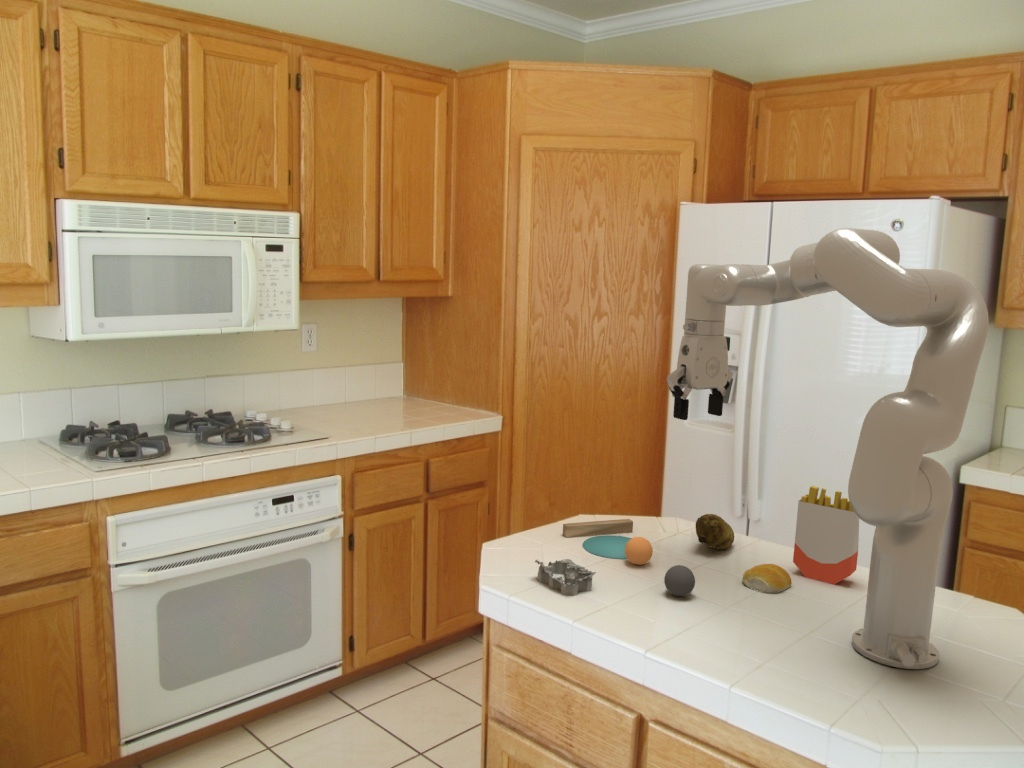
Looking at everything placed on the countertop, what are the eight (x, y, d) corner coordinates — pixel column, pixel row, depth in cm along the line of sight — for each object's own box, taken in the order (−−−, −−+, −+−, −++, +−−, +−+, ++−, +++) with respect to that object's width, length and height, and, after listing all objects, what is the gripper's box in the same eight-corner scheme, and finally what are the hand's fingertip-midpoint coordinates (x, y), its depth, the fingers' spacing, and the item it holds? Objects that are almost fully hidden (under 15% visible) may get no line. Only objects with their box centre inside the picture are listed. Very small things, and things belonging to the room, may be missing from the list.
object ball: (652, 570, 165) (654, 543, 164) (624, 568, 165) (626, 541, 165) (651, 560, 170) (652, 534, 169) (623, 558, 171) (625, 532, 170)
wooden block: (632, 532, 187) (633, 521, 187) (566, 537, 182) (566, 526, 182) (628, 529, 189) (629, 518, 189) (562, 534, 184) (563, 523, 184)
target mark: (651, 561, 170) (651, 560, 170) (581, 556, 171) (582, 555, 171) (647, 538, 183) (647, 537, 183) (583, 534, 185) (583, 533, 185)
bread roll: (797, 585, 160) (798, 565, 160) (775, 598, 154) (777, 577, 153) (757, 573, 166) (758, 554, 165) (734, 585, 159) (736, 564, 159)
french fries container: (799, 567, 169) (807, 480, 167) (855, 581, 163) (864, 491, 160) (791, 573, 166) (799, 485, 163) (848, 588, 159) (858, 496, 157)
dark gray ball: (695, 602, 150) (697, 572, 149) (664, 599, 150) (666, 570, 150) (692, 590, 155) (694, 561, 155) (662, 588, 156) (664, 559, 155)
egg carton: (531, 579, 159) (532, 559, 158) (563, 572, 163) (564, 552, 162) (565, 599, 150) (566, 577, 149) (598, 591, 154) (599, 570, 153)
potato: (749, 548, 180) (752, 512, 179) (713, 560, 172) (715, 522, 170) (717, 537, 186) (720, 502, 185) (680, 548, 178) (683, 512, 177)
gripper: (687, 332, 153) (681, 424, 156) (749, 330, 163) (742, 416, 166) (657, 328, 159) (652, 416, 162) (719, 326, 169) (713, 410, 172)
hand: (697, 416), depth 164 cm, fingers open, 9 cm apart
